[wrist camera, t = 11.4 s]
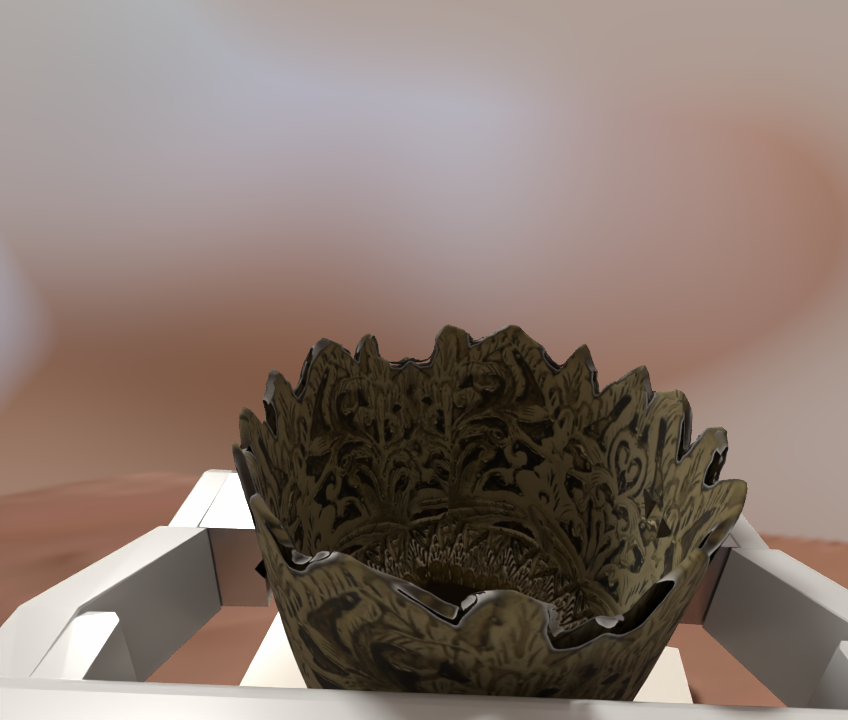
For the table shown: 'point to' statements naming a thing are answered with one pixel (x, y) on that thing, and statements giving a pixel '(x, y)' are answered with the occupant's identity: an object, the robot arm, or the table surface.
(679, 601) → the cup
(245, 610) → the table surface
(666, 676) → the tile plinth
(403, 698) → the robot arm
